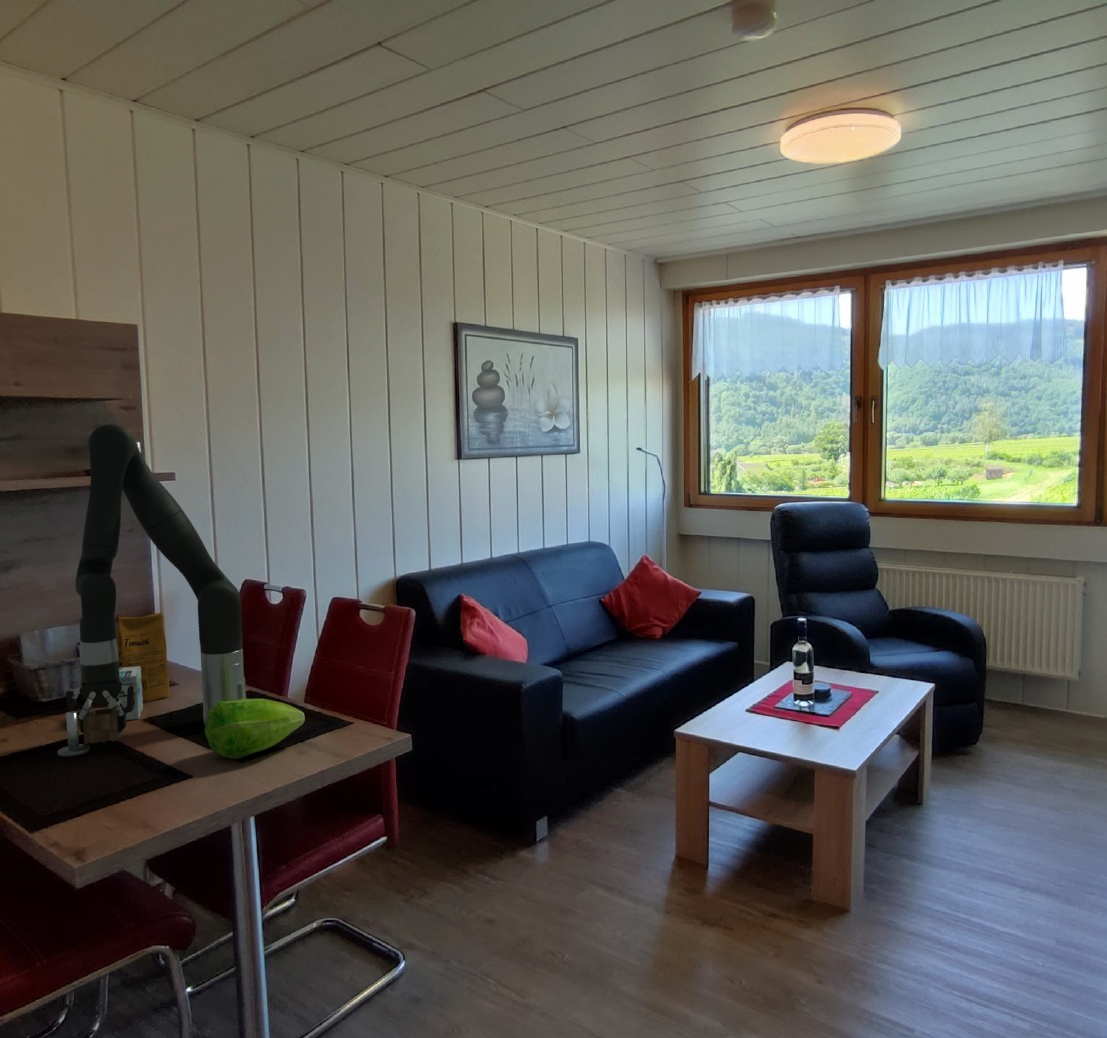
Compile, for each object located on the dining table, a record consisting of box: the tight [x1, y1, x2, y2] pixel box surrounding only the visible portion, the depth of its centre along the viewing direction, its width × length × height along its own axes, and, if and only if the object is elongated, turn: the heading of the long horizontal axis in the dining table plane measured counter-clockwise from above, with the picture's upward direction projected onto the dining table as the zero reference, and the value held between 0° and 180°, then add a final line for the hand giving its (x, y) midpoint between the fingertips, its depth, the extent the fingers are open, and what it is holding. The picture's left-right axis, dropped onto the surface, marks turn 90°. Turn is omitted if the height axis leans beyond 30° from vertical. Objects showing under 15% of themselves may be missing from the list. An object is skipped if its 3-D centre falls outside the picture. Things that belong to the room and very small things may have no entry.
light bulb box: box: [107, 666, 144, 721], centre depth 203 cm, size 11×7×11 cm, turn 22°
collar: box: [83, 706, 124, 745], centre depth 187 cm, size 6×6×6 cm
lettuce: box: [204, 698, 306, 760], centre depth 176 cm, size 14×20×12 cm
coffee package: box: [116, 612, 170, 703], centre depth 216 cm, size 10×12×22 cm
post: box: [57, 711, 91, 758], centre depth 178 cm, size 6×6×9 cm
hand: (103, 732), depth 187 cm, fingers closed on collar, 6 cm apart
